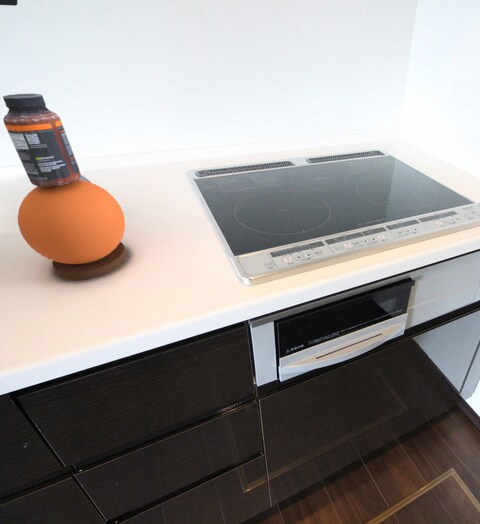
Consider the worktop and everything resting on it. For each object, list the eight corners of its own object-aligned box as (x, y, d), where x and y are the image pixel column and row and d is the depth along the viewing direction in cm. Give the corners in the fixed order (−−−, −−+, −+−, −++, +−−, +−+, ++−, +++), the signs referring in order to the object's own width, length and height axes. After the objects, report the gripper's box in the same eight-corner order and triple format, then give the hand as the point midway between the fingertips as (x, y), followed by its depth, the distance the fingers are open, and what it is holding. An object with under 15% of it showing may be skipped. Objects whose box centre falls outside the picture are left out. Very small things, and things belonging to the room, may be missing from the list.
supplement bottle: (72, 173, 55) (41, 91, 50) (89, 180, 52) (60, 95, 47) (24, 182, 51) (-15, 94, 45) (41, 191, 48) (1, 98, 42)
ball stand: (47, 297, 52) (-2, 211, 44) (41, 255, 60) (-2, 175, 52) (145, 268, 59) (117, 188, 51) (128, 233, 67) (101, 160, 59)
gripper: (-113, -188, 41) (-30, -1, 51) (-161, -250, 30) (-43, 4, 40) (-25, -168, 45) (36, 2, 55) (-39, -216, 34) (41, 8, 44)
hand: (3, 3), depth 47 cm, fingers open, 9 cm apart
